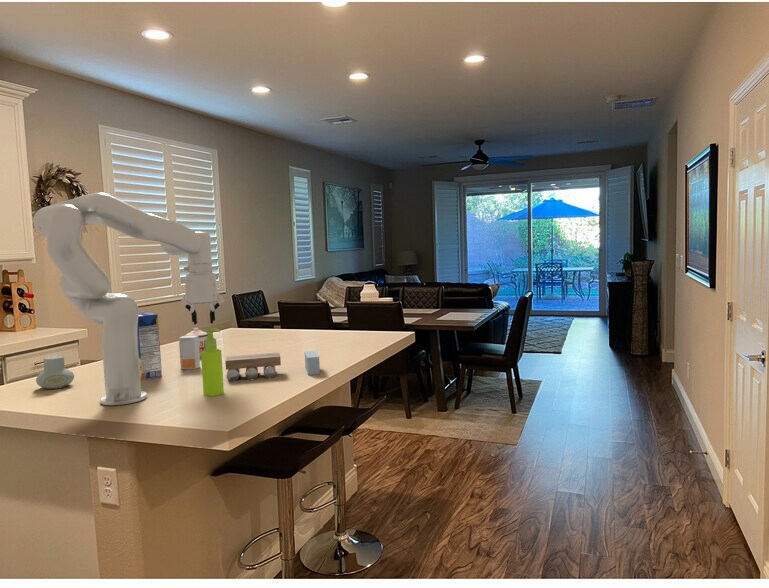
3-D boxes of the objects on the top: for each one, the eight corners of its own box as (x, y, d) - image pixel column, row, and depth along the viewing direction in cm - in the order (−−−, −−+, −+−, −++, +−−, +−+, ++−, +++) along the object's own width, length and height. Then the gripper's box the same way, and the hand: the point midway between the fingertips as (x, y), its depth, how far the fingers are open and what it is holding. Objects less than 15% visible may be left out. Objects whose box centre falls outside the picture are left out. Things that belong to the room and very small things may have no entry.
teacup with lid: (194, 358, 229) (192, 330, 228) (182, 356, 235) (180, 328, 234) (219, 353, 239) (217, 326, 238) (206, 351, 244) (205, 325, 243)
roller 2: (273, 380, 188) (277, 369, 188) (262, 376, 187) (266, 365, 187) (272, 373, 199) (276, 362, 199) (261, 369, 198) (265, 359, 198)
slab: (280, 365, 190) (280, 356, 189) (225, 369, 186) (225, 360, 185) (279, 360, 198) (279, 352, 197) (227, 364, 193) (226, 356, 193)
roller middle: (255, 381, 187) (259, 370, 187) (243, 377, 186) (248, 366, 186) (255, 374, 197) (259, 364, 197) (244, 371, 196) (248, 360, 197)
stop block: (319, 374, 191) (319, 356, 190) (308, 375, 190) (307, 357, 190) (316, 367, 203) (315, 350, 202) (305, 368, 202) (304, 351, 201)
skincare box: (180, 369, 207) (178, 337, 206) (184, 367, 212) (182, 335, 211) (196, 369, 207) (194, 337, 206) (200, 366, 211) (198, 335, 210)
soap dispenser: (215, 397, 165) (210, 330, 163) (199, 394, 168) (195, 329, 167) (230, 392, 170) (226, 327, 168) (214, 390, 173) (210, 326, 172)
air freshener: (36, 392, 179) (34, 361, 179) (36, 387, 186) (34, 358, 186) (75, 386, 185) (73, 357, 184) (74, 382, 192) (71, 353, 191)
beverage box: (142, 379, 192) (137, 316, 190) (131, 375, 200) (127, 314, 199) (162, 376, 197) (157, 314, 195) (150, 371, 205) (146, 312, 203)
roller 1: (236, 383, 185) (240, 371, 185) (225, 380, 184) (228, 368, 184) (238, 376, 196) (241, 365, 196) (226, 373, 195) (230, 362, 195)
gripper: (171, 270, 180) (175, 326, 182) (226, 268, 184) (229, 323, 185) (175, 270, 187) (178, 323, 189) (227, 267, 191) (230, 320, 193)
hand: (203, 322), depth 187 cm, fingers open, 4 cm apart
